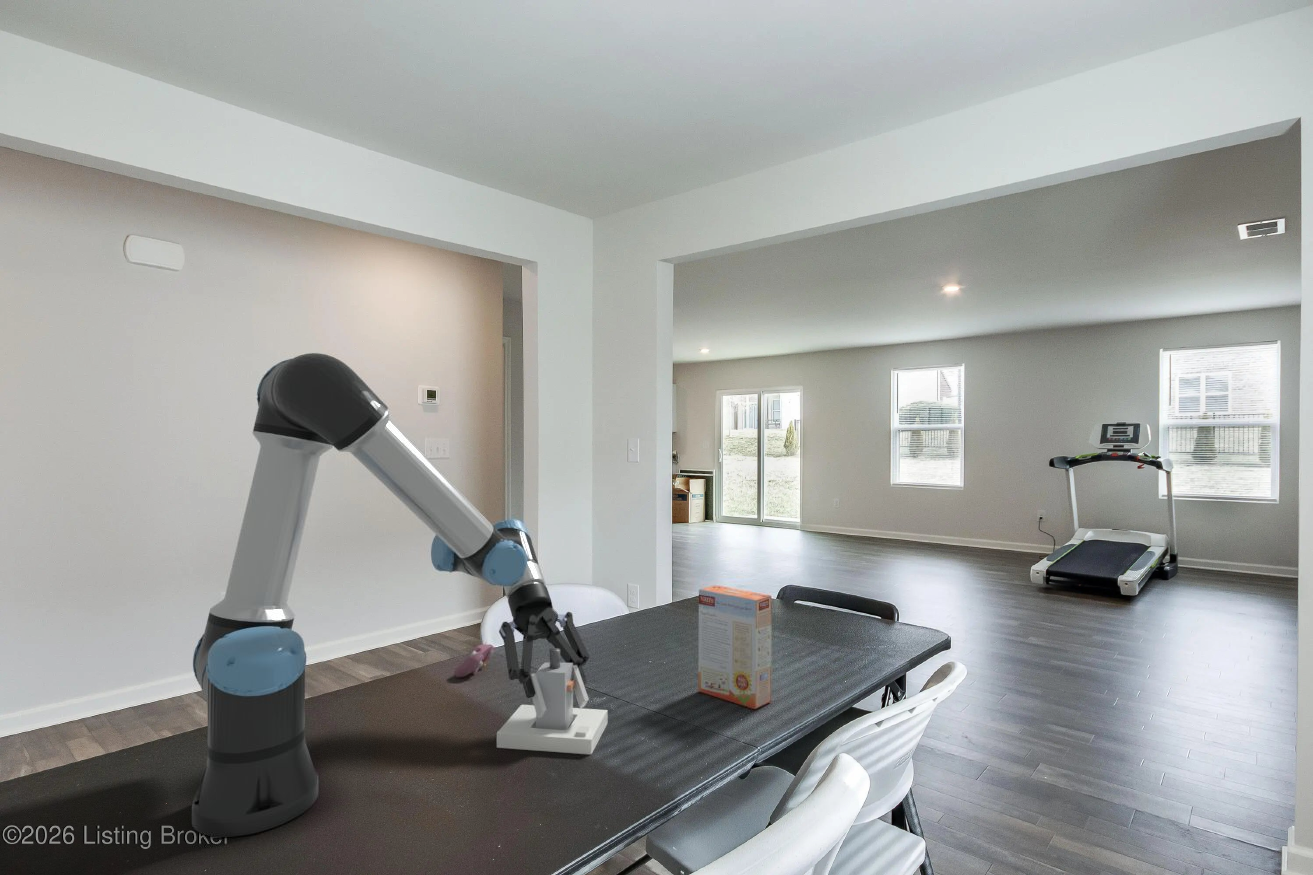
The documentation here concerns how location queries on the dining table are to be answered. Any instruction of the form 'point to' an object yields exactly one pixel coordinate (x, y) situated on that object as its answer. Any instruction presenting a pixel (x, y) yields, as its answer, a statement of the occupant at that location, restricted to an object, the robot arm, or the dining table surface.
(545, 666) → the plug
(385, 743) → the dining table surface
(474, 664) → the video game controller
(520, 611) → the robot arm
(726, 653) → the cracker box
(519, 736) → the socket plate
